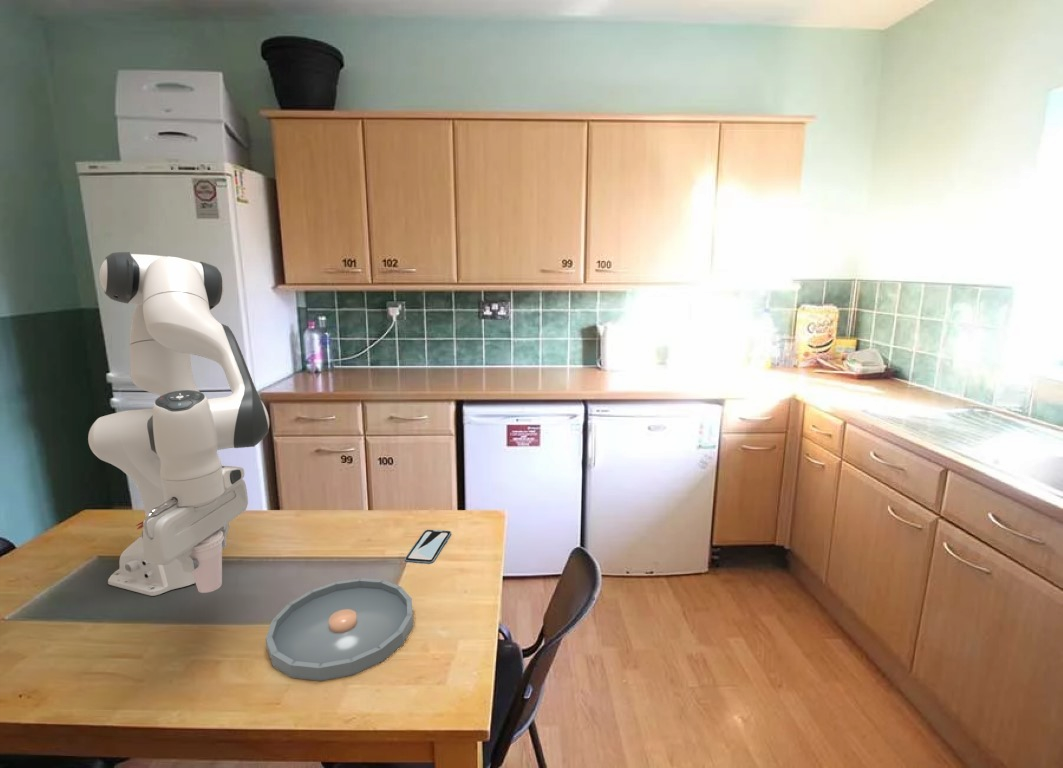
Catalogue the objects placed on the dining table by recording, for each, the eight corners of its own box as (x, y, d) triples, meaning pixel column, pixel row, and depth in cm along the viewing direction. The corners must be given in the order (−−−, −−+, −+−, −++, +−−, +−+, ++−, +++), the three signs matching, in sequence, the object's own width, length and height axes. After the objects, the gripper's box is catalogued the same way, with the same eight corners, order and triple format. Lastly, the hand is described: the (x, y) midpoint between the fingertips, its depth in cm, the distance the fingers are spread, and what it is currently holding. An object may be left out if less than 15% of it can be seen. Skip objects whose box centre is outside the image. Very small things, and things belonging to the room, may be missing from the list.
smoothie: (200, 602, 91) (188, 527, 87) (181, 589, 94) (169, 517, 91) (237, 583, 96) (227, 512, 93) (218, 572, 99) (208, 503, 96)
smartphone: (402, 560, 125) (425, 529, 140) (403, 564, 126) (425, 532, 140) (432, 562, 124) (452, 531, 139) (432, 566, 124) (452, 534, 139)
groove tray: (236, 671, 91) (234, 659, 91) (317, 585, 117) (315, 574, 116) (379, 687, 88) (378, 674, 87) (430, 593, 113) (430, 583, 112)
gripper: (160, 516, 80) (175, 596, 83) (249, 465, 100) (258, 531, 103) (124, 513, 81) (139, 593, 84) (219, 463, 101) (229, 529, 104)
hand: (206, 558), depth 94 cm, fingers closed on smoothie, 5 cm apart
